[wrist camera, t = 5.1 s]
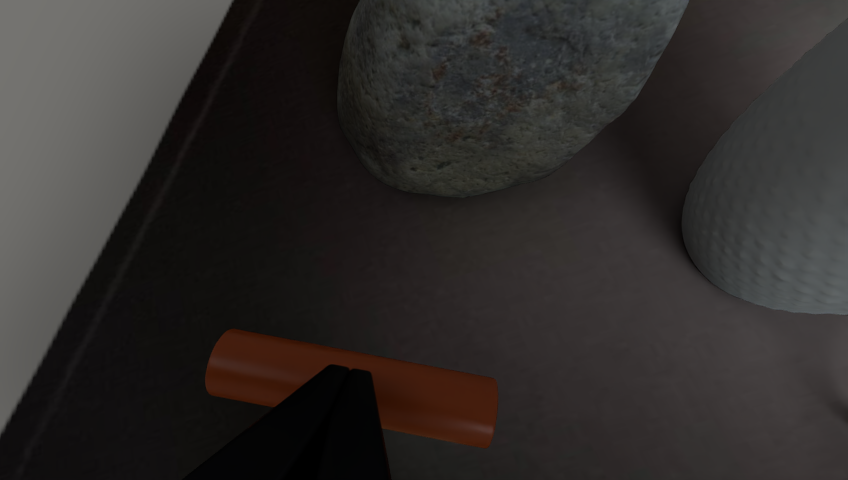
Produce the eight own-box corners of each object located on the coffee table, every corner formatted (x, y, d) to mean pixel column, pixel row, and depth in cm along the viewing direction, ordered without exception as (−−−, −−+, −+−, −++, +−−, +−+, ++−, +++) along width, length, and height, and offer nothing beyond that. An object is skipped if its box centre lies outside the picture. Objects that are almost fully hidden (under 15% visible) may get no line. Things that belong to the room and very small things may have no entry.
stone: (369, 32, 30) (340, -304, 16) (580, 74, 29) (744, -235, 15) (314, 188, 25) (204, -92, 11) (565, 241, 24) (779, 17, 11)
